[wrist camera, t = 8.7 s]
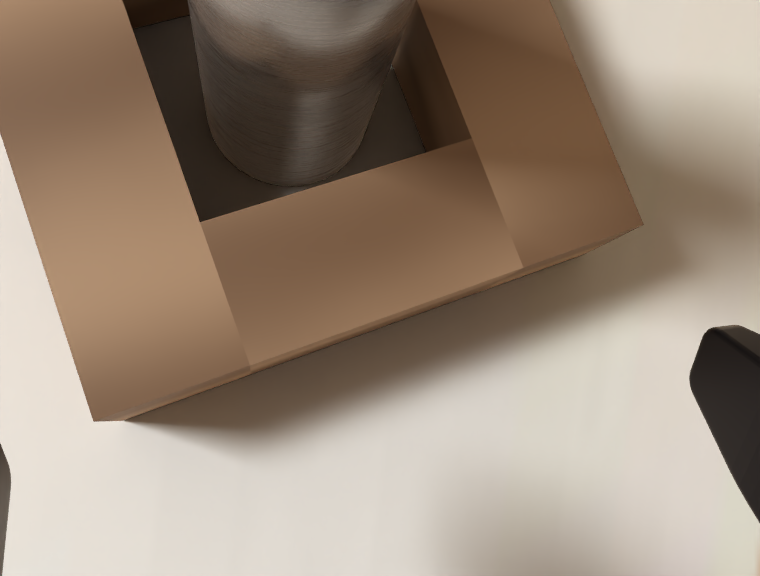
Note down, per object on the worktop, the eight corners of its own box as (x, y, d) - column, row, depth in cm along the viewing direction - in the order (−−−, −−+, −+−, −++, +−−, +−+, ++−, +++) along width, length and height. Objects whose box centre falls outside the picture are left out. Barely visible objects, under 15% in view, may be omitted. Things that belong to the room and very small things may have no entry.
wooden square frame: (583, 254, 19) (643, 224, 16) (122, 420, 16) (93, 420, 13) (420, -147, 20) (447, -243, 17) (-33, -52, 18) (-90, -144, 15)
